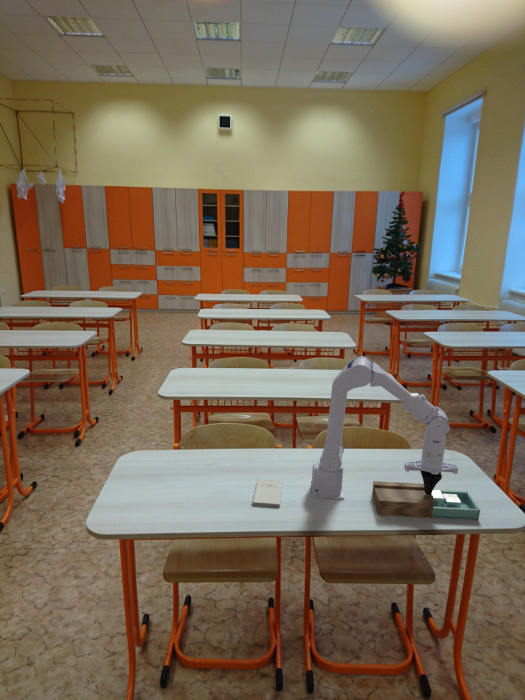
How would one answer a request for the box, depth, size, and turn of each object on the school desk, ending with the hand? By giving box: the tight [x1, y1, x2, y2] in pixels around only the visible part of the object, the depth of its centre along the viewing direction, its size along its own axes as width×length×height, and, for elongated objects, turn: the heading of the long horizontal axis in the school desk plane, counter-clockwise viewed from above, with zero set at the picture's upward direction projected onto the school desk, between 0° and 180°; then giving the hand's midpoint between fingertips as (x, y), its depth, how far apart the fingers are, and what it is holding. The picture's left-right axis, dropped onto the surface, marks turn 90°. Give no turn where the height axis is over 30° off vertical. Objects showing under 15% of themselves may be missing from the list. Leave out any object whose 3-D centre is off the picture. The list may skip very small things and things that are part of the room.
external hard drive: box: [252, 479, 284, 508], centre depth 135 cm, size 2×8×12 cm
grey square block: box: [429, 489, 444, 507], centre depth 129 cm, size 4×4×3 cm
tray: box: [428, 489, 481, 520], centre depth 129 cm, size 13×9×3 cm
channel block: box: [371, 480, 433, 519], centre depth 130 cm, size 15×10×5 cm, turn 86°
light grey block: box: [443, 494, 461, 508], centre depth 129 cm, size 4×4×3 cm
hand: (427, 492), depth 129 cm, fingers closed
